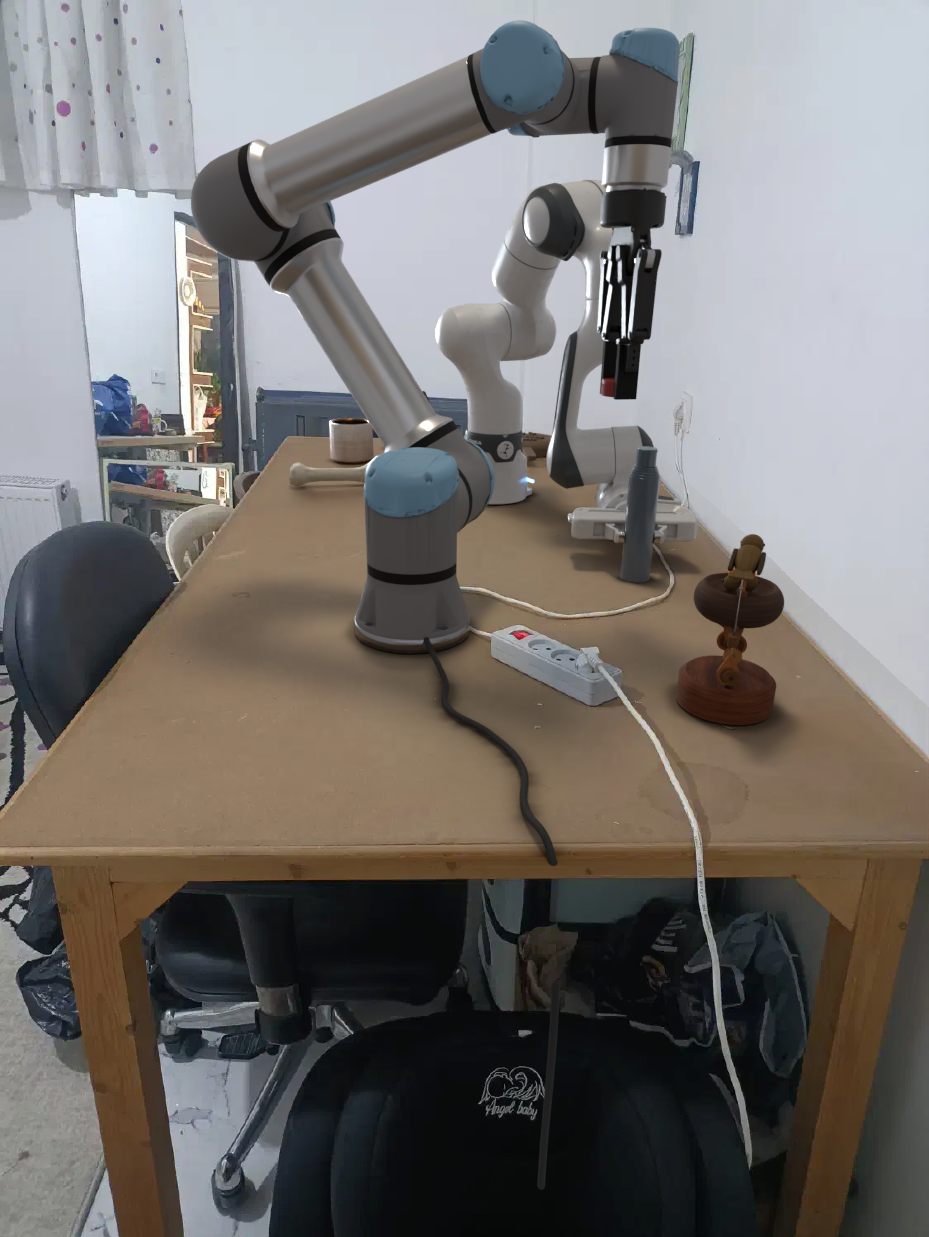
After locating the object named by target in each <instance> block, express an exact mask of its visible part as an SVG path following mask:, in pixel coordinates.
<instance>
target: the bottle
mask: <svg viewBox="0 0 929 1237" xmlns="http://www.w3.org/2000/svg"><path fill="white" fill-rule="evenodd" d="M636 452H637V456H636V464H635V465H634V467H633V469H632V470H631V472H630V474H629V483H628V494H627V505H626V516H625V527H624V532H625V538H624V539H625V542H624V543H622V550H621V551H622V552H621V563H620V572H619V573H620V574H619V578H620V579H621V580H622V581H625V582H629V583H635V584H637V583H646V582H648V581H650V579H651V578H650V577H651V570H652V569H651V568H652V559H653V549H654V544H653V541H654V531H655V522H656V512H657V503H658V495H659V492H660V483H661V473H660V471H659V468H658V465H657V456H658V452H659V450H658V448H657V447H655V446H654V447H649V446H641V447H638V448H637V451H636Z"/></svg>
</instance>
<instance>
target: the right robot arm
mask: <svg viewBox="0 0 929 1237" xmlns="http://www.w3.org/2000/svg"><path fill="white" fill-rule="evenodd" d="M606 189H607V188H604V187H603V186H602V179H601V180H599V179H583V180H579V181H568V182H564V183H562V182H561V183H557V182H552V183H548V184H547V183H546V184H543V185H539V186H536V187H534V188H533V189H530V191H528V193H526V196H525V197H524V199H523V200H522V201H521V203H520V204H519V207H518V208H517V210H516V212H515V213H514V216H513V217H512V219H511V221H510V224H509V225H508V228H507V230H506V233H505V234H504V238H503V240H502V243H501V245H500V248H499V251H498V253H497V255H496V258H495V260H494V263H493V265H492V268H491V279H492V284H493V287H494V288H495V291H497V293H498V294H499V295H500V296H501V297H502V300H501V301H500V302H496V303H464V304H460V305H456V306H451V307H447V308H445V309H444V310H443V312H442V313H441V314H440V316H439V317H438V320H437V323H436V327H435V340H436V344H437V346H438V349H439V351H440V352H441V354H442V355H443V356H444V357H445V358H446V359H447V360H449V361H450V362H451V363H452V365H454V366H455V368H456V370H458V373H459V375H460V376H461V378H462V381H463V384H464V387H465V391H466V400H467V403H466V404H467V429H465V430H464V432H465V433H464V435H463V437H464V438H465V440H467V441H470V442H472V443H474V444H476V445H477V446H479V447H480V448H481V449H482V450H483V451H484V452H485V453H486V455H487V456H488V458H489V460H490V462H491V464H492V467H493V470H494V478H495V483H494V490H493V494H492V497H491V499H490V501H489V503H488V504H487V505H506V504H507V505H509V504H514V503H519V502H522V501H524V500H525V499H526V498H527V497H528V496H531V495H532V494H533V489H532V488H531V487H528V483H531V484H534V483H535V479H532V478H530V477H528V460H527V458H526V456H525V455H524V454H523V453H522V452H521V448H522V441H523V437H522V433H523V431H522V427H521V426H522V404H523V397H522V392H521V391H520V390H519V388H518V387H517V386H516V385H515V384H514V383H512V382H511V381H509V380H507V379H506V378H505V377H504V375H503V374H502V370H501V362H513V361H528V360H532V359H535V358H539V357H542V356H545V355H547V354H548V353H549V352H550V351H551V350H552V349H553V347H554V344H555V342H556V338H557V337H556V336H557V324H556V320H555V318H554V316H553V314H552V312H551V310H549V308H547V304H546V302H547V301H546V299H547V295H548V292H549V288H550V287H551V284H552V281H553V280H554V277H555V274H556V272H557V270H558V268H559V265H560V263H561V261H563V262H568V261H570V259H572V258H573V257H575V258H576V259H578V260H579V261H580V263H581V264H582V266H583V269H584V275H585V276H584V278H585V285H584V286H585V288H584V289H585V290H584V291H585V293H584V295H585V298H584V299H585V300H584V301H585V303H584V313H583V316H582V320H581V322H580V324H579V326H578V328H577V329H576V330H575V331H574V332H572V333H571V334H569V336H568V338H567V340H566V343H565V346H564V350H563V356H562V362H561V367H560V368H561V369H560V373H559V381H558V388H557V395H556V402H555V410H554V419H553V427H552V433H551V436H552V437H551V440H550V443H549V447H548V451H547V456H546V468H547V473H548V476H549V478H550V479H551V480H552V481H553V482H555V483H556V484H557V485H558V486H560V487H562V488H563V489H565V490H566V489H574V488H580V487H581V488H582V487H585V486H591V485H597V487H596V490H595V491H596V492H595V507H586V506H585V507H583V506H582V507H577V508H575V509H574V510H573V512H572V513H571V512H570V513H569V512H568V514H567V516H566V517H567V521H568V522H569V523H571V531H570V532H571V537H572V538H575V539H577V540H607V541H608V540H609V541H613V542H614V544H623V543H624V542H625V539H624V538H625V532H624V527H625V516H626V505H627V494H628V483H629V474H630V472H631V470H632V469H633V467H634V465H635V464H636V456H637V452H636V451H637V448H638V447H641V446H649V447H655V446H654V443H653V440H652V438H651V437H650V436H649V434H648V433H647V432H646V430H644V429H643V427H641V426H639V425H623V426H610V427H603V428H589V429H582V428H579V427H578V419H579V413H580V407H581V398H582V393H583V386H584V383H585V380H586V379H587V377H588V376H589V375H590V373H591V372H592V371H594V370H595V369H596V368H598V367H599V366H602V356H603V342H604V341H605V340H603V339H602V334H598V332H597V324H598V308H599V291H600V275H601V268H600V253H601V251H608V249H609V246H610V242H611V238H612V233H613V230H612V228H604V227H602V226H601V225H600V209H601V196H603V193H605V192H606ZM698 520H699V519H698V518H697V516H696V515H695V514H694V513H693V512H692V511H691V509H689V508H688V507H686V506H684V505H682V500H681V499H679V498H677V497H671V496H666V495H659V494H658V503H657V512H656V522H655V531H654V541H653V545H663V544H664V542H685V543H686V542H687V543H691V542H694V541H695V540H696V539H697V536H698V529H699V521H698Z"/></svg>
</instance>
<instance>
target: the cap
mask: <svg viewBox="0 0 929 1237" xmlns="http://www.w3.org/2000/svg"><path fill="white" fill-rule="evenodd" d="M600 383H601V382H600ZM614 386H615V378H604V379H602V383H601V394H600V396H602V397H606V398H607V397H608V398H614Z"/></svg>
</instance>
